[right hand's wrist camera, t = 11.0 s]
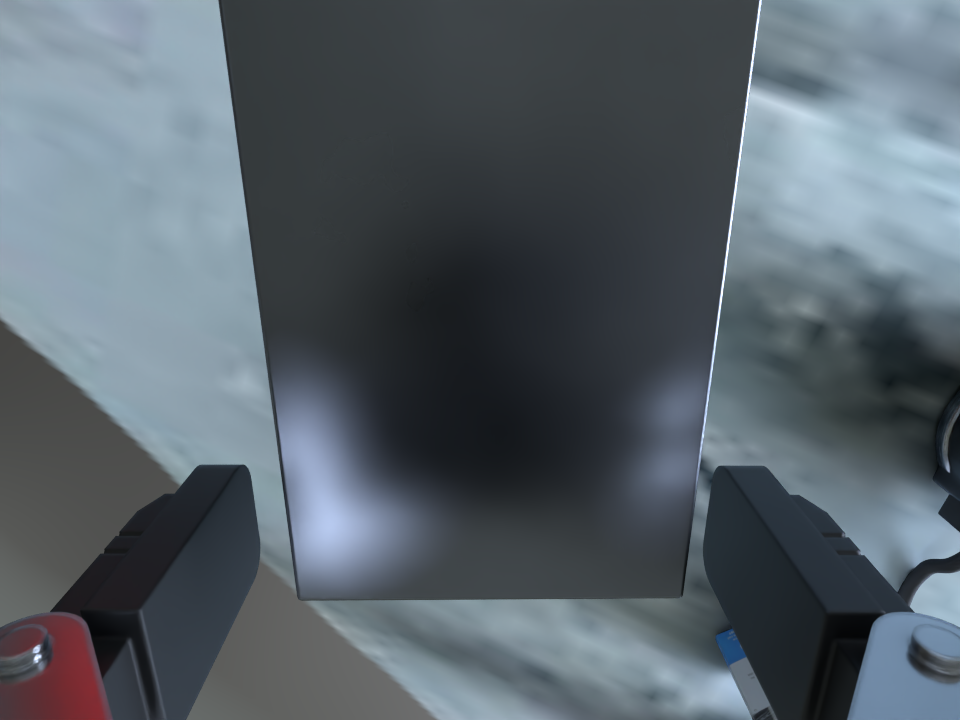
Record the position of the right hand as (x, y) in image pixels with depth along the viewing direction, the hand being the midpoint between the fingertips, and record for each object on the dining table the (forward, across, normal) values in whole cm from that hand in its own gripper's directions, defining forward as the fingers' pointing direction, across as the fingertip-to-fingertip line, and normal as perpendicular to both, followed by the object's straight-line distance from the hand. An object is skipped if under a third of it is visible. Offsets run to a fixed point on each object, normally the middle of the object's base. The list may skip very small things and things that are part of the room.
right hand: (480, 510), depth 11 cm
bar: (+6, 0, -13) cm, 14 cm away
